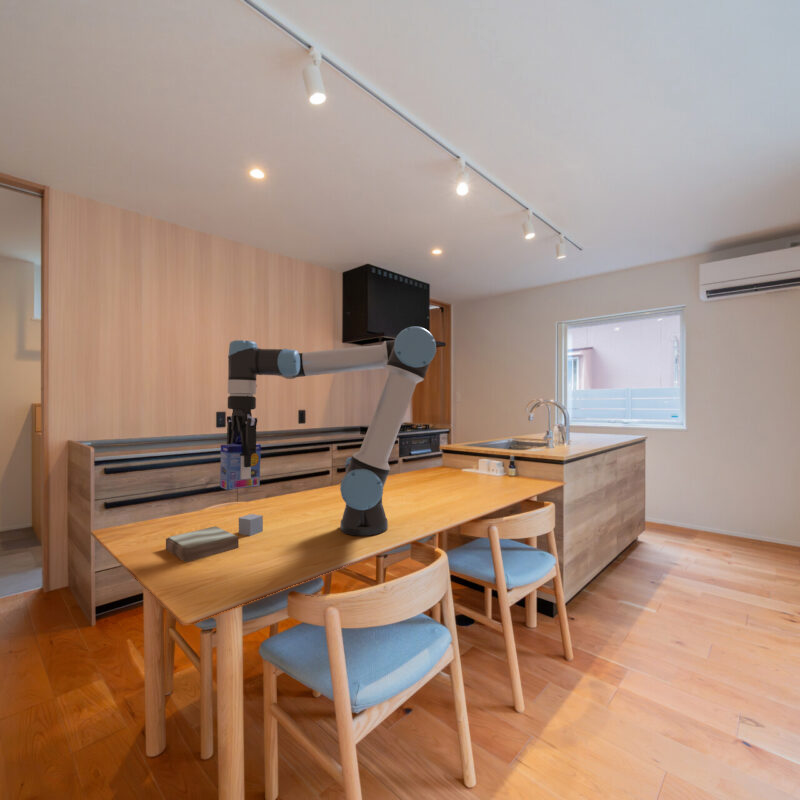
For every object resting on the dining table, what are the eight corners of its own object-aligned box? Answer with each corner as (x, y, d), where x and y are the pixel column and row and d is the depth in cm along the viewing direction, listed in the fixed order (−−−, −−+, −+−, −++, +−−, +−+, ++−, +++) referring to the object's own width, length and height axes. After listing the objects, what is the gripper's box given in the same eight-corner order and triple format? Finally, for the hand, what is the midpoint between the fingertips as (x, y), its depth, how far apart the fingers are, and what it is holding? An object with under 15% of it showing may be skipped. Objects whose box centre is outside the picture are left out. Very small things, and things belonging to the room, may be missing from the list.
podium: (238, 547, 115) (238, 535, 115) (185, 562, 104) (185, 549, 104) (216, 536, 124) (216, 525, 124) (165, 549, 113) (165, 537, 113)
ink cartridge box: (227, 490, 111) (227, 437, 111) (218, 488, 114) (219, 436, 115) (261, 485, 118) (261, 435, 118) (252, 483, 122) (252, 434, 122)
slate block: (262, 531, 129) (262, 515, 129) (250, 536, 125) (250, 519, 125) (251, 529, 131) (251, 513, 131) (238, 533, 127) (238, 517, 127)
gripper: (271, 395, 113) (269, 480, 113) (239, 395, 125) (237, 471, 125) (245, 395, 107) (243, 483, 107) (214, 395, 120) (213, 474, 120)
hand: (240, 476), depth 116 cm, fingers closed on ink cartridge box, 5 cm apart
